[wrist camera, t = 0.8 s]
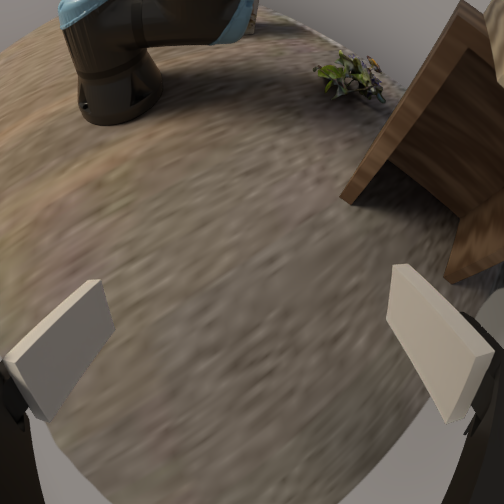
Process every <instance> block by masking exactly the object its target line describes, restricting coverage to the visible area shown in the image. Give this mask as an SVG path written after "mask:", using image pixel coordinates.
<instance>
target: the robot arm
mask: <svg viewBox="0 0 504 504" xmlns="http://www.w3.org/2000/svg"><path fill="white" fill-rule="evenodd" d="M253 3H254V0H61V2H60V4H59V6H58V14H59V20H60V29H61V30H62V31H63V34H64V37H65V40H66V43H67V46H68V49H69V52H70V55H71V58H72V60H73V63H74V66H75V69H76V71H77V74H78V106H79V108H80V111H81V113H82V115H83V117H84V118H85V119H86V120H87V121H88V122H90V123H93V124H97V125H114V124H119V123H123V122H126V121H128V120H131V119H133V118H135V117H137V116H139V115H141V114H143V113H144V112H146V111H147V110H148V109H150V108H151V107H152V106H153V105H154V104H155V103H156V102H157V100H158V99H159V97H160V96H161V93H162V90H163V83H162V76H161V73H160V71H159V69H158V68H157V66H156V64H155V63H154V61H153V60H152V58H151V56H150V55H149V53H148V52H147V48H149V47H162V46H181V45H209V46H210V45H215V44H231V43H235V42H237V41H238V40H240V39H241V38H242V36H243V35H244V33H245V31H246V29H247V26H248V23H249V20H250V17H251V13H252V9H253V6H252V4H253ZM386 320H387V322H388V324H389V325H390V327H391V328H392V330H393V332H394V333H395V335H396V337H397V338H398V340H399V342H400V343H401V345H402V347H403V348H404V350H405V352H406V353H407V355H408V357H409V358H410V360H411V362H412V364H413V365H414V367H415V369H416V371H417V372H418V374H419V376H420V378H421V379H422V381H423V383H424V385H425V387H426V388H427V390H428V392H429V394H430V396H431V398H432V399H433V401H434V403H435V405H436V407H437V409H438V411H439V413H440V414H441V416H442V418H443V420H444V422H445V424H449V423H452V422H454V421H457V420H460V419H463V418H464V417H465V416H466V414H467V412H468V410H469V408H470V406H472V407H473V409H474V411H475V412H476V413H475V415H474V417H473V418H472V420H471V422H470V424H469V425H468V427H467V429H466V431H465V432H464V435H466V434H467V433H468V435H467V438H466V441H465V445H464V448H463V451H462V453H461V456H460V459H459V462H458V465H457V467H456V470H455V473H454V475H453V478H452V480H451V483H450V485H449V487H448V490H447V492H446V494H445V497H444V499H443V501H442V503H441V504H504V349H503V348H502V347H501V346H500V345H499V344H498V343H497V342H496V340H495V339H494V338H493V337H492V336H491V335H490V334H489V333H487V331H486V330H485V329H484V328H483V327H481V325H480V324H479V323H478V322H477V321H476V320H475V319H474V318H473V317H471V316H469V315H468V314H466V313H464V312H458V311H457V310H456V309H455V308H454V307H453V306H452V305H451V304H450V303H449V302H448V301H447V300H446V299H445V298H444V297H443V296H442V295H441V294H440V293H439V292H438V291H437V290H436V289H435V288H434V287H433V286H432V285H431V284H429V283H428V282H427V281H426V280H425V279H424V278H423V277H422V276H421V275H420V274H419V273H418V272H417V271H416V270H414V269H413V268H412V267H411V266H410V265H409V264H397V265H393V268H392V278H391V287H390V295H389V303H388V310H387V317H386ZM114 331H115V327H114V323H113V320H112V317H111V314H110V310H109V307H108V303H107V300H106V296H105V293H104V289H103V285H102V281H101V280H88V281H86V282H85V283H84V284H83V285H82V286H81V287H79V288H78V289H77V290H76V291H75V292H74V293H72V294H71V295H70V296H69V297H68V298H67V299H65V300H64V301H63V302H62V303H61V304H60V305H59V306H58V307H56V308H55V309H54V310H53V311H52V312H51V313H50V314H49V315H48V316H46V317H45V318H44V319H43V320H42V321H41V322H40V323H39V324H38V325H37V326H36V327H35V328H33V329H32V330H31V331H30V332H29V333H28V334H27V335H26V336H25V337H24V338H23V339H22V340H21V341H20V342H19V343H18V344H17V345H16V346H15V347H14V348H13V349H12V350H11V351H10V352H9V353H8V354H7V355H6V356H5V357H4V358H3V359H2V361H1V362H0V504H45V502H44V498H43V494H42V490H41V486H40V481H39V477H38V472H37V468H36V462H35V457H34V451H33V445H32V438H31V431H30V422H29V418H28V416H27V415H26V413H25V411H26V410H27V409H28V407H29V408H30V410H31V411H32V413H33V414H34V416H35V417H36V418H38V419H40V420H43V421H46V422H49V423H50V422H51V421H52V419H53V418H54V416H55V415H56V413H57V412H58V410H59V409H60V407H61V406H62V404H63V403H64V401H65V400H66V398H67V397H68V395H69V394H70V392H71V391H72V389H73V388H74V387H75V385H76V384H77V382H78V381H79V379H80V378H81V376H82V375H83V374H84V372H85V371H86V369H87V368H88V367H89V365H90V364H91V362H92V361H93V360H94V358H95V357H96V355H97V354H98V353H99V351H100V350H101V349H102V347H103V346H104V344H105V343H106V342H107V340H108V339H109V338H110V336H111V335H112V334H113V332H114Z"/></svg>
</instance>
